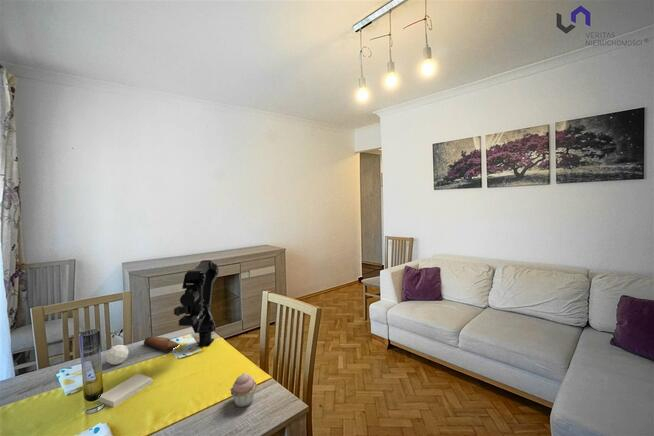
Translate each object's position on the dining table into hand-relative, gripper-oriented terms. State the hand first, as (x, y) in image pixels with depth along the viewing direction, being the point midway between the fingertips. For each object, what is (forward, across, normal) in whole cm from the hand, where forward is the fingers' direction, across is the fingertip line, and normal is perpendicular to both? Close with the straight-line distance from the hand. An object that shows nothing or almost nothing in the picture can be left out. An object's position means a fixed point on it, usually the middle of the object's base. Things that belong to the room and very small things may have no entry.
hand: (196, 332), depth 124 cm
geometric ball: (+12, +3, -33) cm, 35 cm away
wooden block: (+11, +15, -13) cm, 23 cm away
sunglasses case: (+13, -12, -22) cm, 28 cm away
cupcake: (+12, +27, +29) cm, 41 cm away
